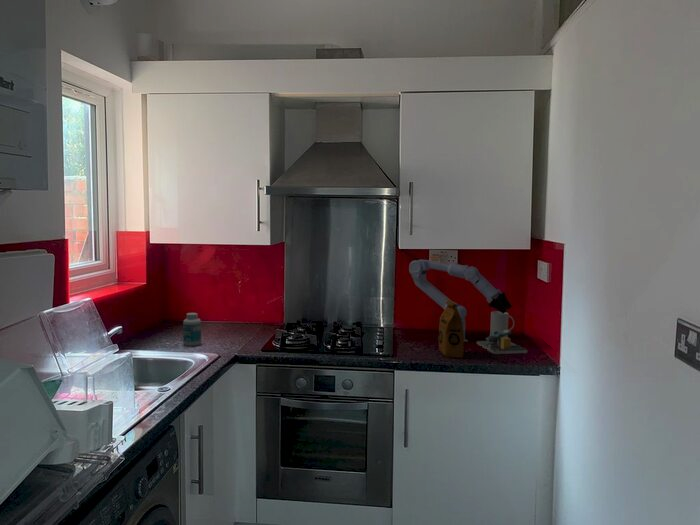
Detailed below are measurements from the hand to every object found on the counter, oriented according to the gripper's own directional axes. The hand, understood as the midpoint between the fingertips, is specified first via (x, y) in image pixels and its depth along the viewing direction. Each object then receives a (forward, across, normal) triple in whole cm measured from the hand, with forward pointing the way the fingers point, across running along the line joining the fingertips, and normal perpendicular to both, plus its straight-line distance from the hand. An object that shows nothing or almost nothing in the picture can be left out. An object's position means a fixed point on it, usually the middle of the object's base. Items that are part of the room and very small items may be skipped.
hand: (507, 310), depth 236 cm
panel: (+10, -6, +12) cm, 17 cm away
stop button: (+5, -9, +12) cm, 16 cm away
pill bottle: (-79, -79, +83) cm, 139 cm away
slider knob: (+11, -11, +9) cm, 18 cm away
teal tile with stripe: (+5, -1, +11) cm, 13 cm away
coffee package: (-2, -29, +20) cm, 36 cm away
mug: (+7, +15, +18) cm, 24 cm away
